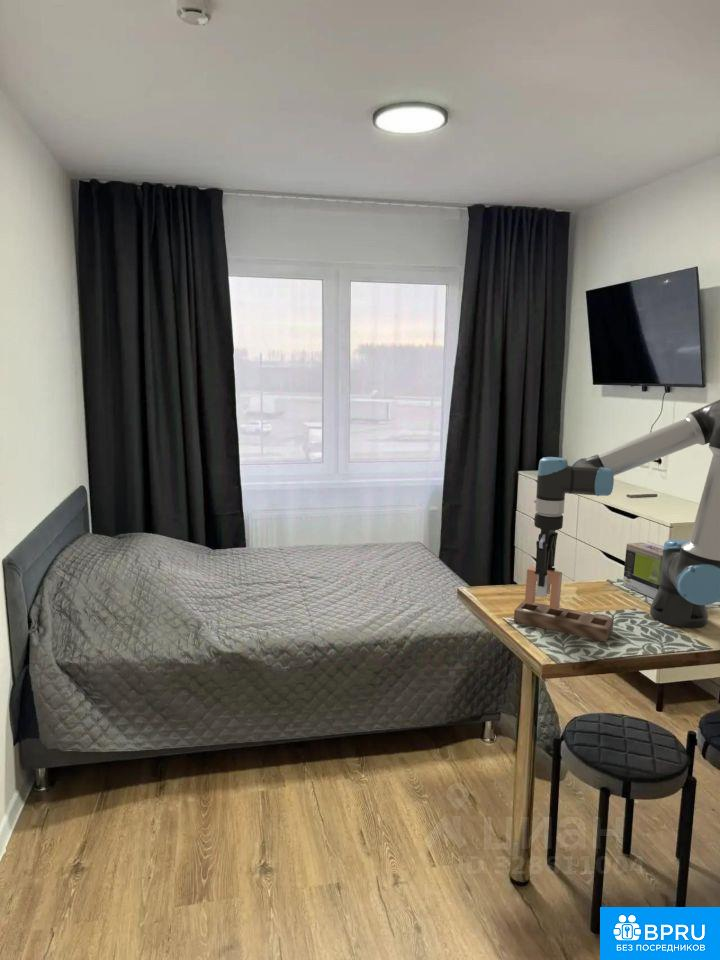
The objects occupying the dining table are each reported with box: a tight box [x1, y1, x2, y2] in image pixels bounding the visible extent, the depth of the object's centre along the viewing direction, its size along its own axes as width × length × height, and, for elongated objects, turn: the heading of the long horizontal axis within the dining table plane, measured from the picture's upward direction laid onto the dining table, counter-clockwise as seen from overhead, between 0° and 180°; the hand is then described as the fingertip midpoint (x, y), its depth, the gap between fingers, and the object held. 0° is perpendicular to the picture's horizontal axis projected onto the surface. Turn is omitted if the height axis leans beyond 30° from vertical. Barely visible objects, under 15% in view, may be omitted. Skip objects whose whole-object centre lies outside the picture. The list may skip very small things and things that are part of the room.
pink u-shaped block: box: [524, 566, 563, 610], centre depth 186 cm, size 9×3×10 cm, turn 59°
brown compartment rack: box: [513, 599, 615, 643], centre depth 184 cm, size 25×9×4 cm, turn 59°
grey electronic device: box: [622, 541, 664, 599], centre depth 213 cm, size 15×10×15 cm
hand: (543, 594), depth 186 cm, fingers closed on pink u-shaped block, 3 cm apart
